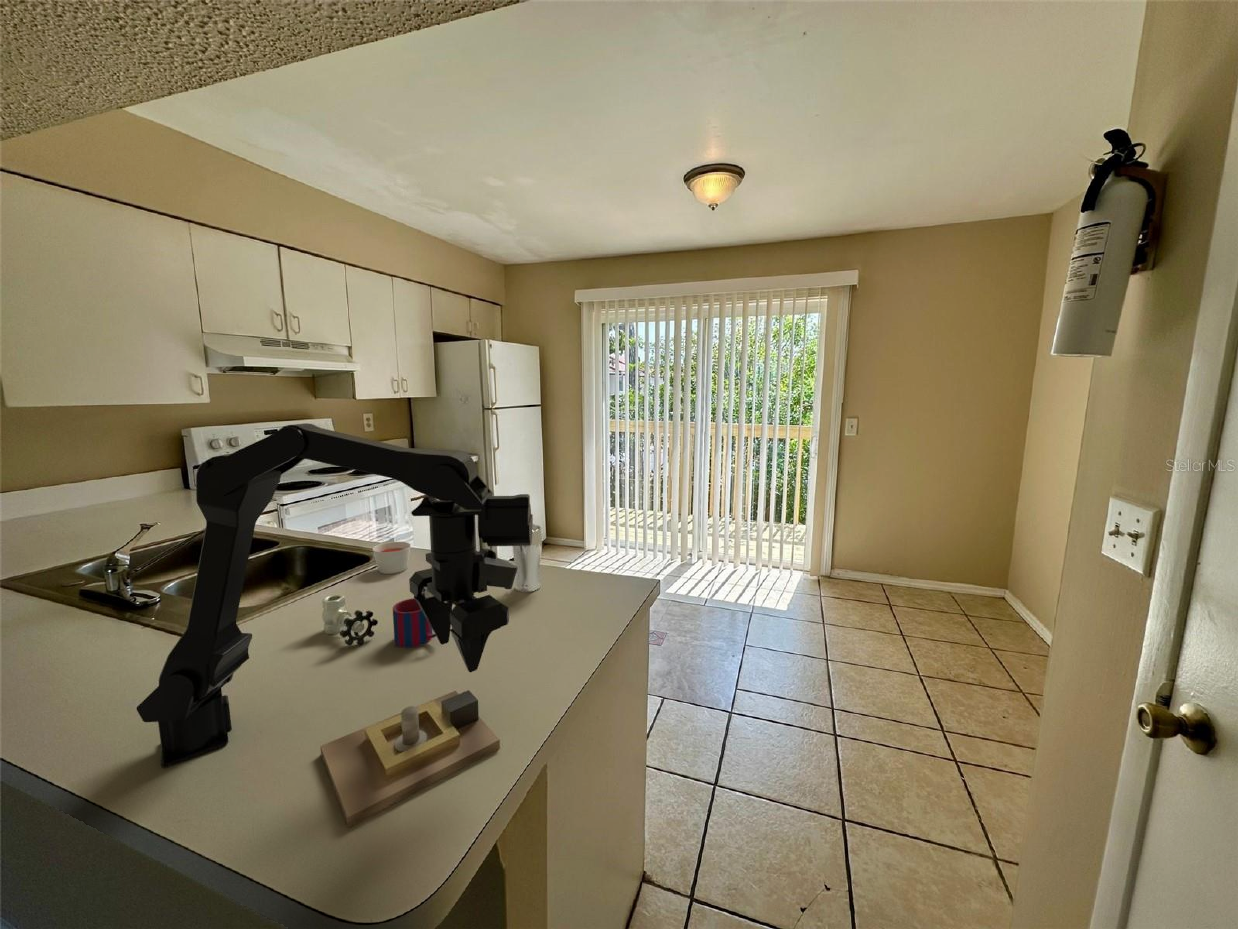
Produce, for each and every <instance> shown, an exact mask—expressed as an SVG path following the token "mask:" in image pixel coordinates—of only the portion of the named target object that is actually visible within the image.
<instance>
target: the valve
mask: <svg viewBox="0 0 1238 929" xmlns="http://www.w3.org/2000/svg"><path fill="white" fill-rule="evenodd" d="M321 604H322V609H323V610H322V613H321V619H322V621H323V631H324V632H325V633H326V634H328V635H333V634H339V636H340V637H342V638H348V639H345V640H344V644H345V645H347V646H348V647H349V646H352V645H354V642H355V641H356V642H355V644H357V645H358V646H362V645H364V643H365V638H366V637H368V638H372V637H374V636H375V631H373V630H372V628H373V627H375V626H377V625H378V623H379V621H378V620H377V619H376V618H372V617H373V616H374V612H373V611H371V610H366V611H365V613H366V614H365V615H364V613H363V611H361V610H359V609H357V610H355V611H354V613H353V615H354V616H355V617H353V616H352V613H351V612H350V611H347V607H346V606H345V605H346V598H345V596H344V595H342V594H331V595H328V596H326V597H324V598H323V599H322V601H321ZM364 621H366V623H367V627H366V630H365V624H364V623H363V622H364ZM363 631H364V632H363ZM352 632H353V634H352ZM359 633H362V634H359Z"/></svg>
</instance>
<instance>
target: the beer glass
mask: <svg viewBox="0 0 1238 929" xmlns="http://www.w3.org/2000/svg"><path fill="white" fill-rule="evenodd" d="M542 538H543V537H542V527H541V525H538V524H534V523H533V533H532V544H531V546H512V554H513V561H514V566H516V567H518V569H517V572H516V576H515V584H514V589H515V590H516V591H517V592H519V593H520V592H521V593H533V592H536V591H538V590H540V589H541V580H540V576H539V573H540V572H539V571H540V563H541V557H542V552H543V551H542V550H543V549H542V548H543V541H542V540H543V539H542ZM537 589H538V590H537ZM535 590H536V591H535ZM532 591H533V592H532Z"/></svg>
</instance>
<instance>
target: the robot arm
mask: <svg viewBox="0 0 1238 929" xmlns="http://www.w3.org/2000/svg"><path fill="white" fill-rule="evenodd" d="M305 460H310V461H313V462H318V463H322V464H327V465H332V466H335V467H341V468H345V469H349V470H353V471H358V472H363V473H368V474H371V475H377V476H380V477H385V478H389V479H393V480H395V481H398V482H401V483H403V484H404V485H406V486H407V487H409V488H410V489H412V490H413V491H415V492H418V493H421V494H423V495H425V496H424V497H423V498H422V500H421V502H420V503H419V504H418V505H417V507H416V508H414V509H413V510H411V512H410V513H411V516H413V517H428V518H429V520H428V522H429V541H430V542H429V544H430V552H428V553H425V562H427V564H430V566H431V567H430V568H427V569H422V570H418V571H415V572H414V573H413V574H412V576H410V578H409V579H408V580H409V592H410V593H411V594H412V595H413V598H414V599H415V600H416V602H417V603H418V605H419V607H420V609H421V610H422V612H423V614H424V615H425V617H426V619H427V621H428V622H429V624H430V626H431V628H432V632H433V634H435V635H436V637H435V638H437V640H438V642H439V644H441V645H446V644H448V643H449V641H450V636H452V638H453V640H454V642H455V645H456V647H457V649H458V651H459V654H460V656H461V658H462V661H463V664H464V665H465V667H466V670H467V671H468V672H469V673H473V672H475V671H476V672H477V671H478V668H479V666H480V662H481V660H482V656H483V653H484V649H485V647H486V645H487V644H486V643H487V641H488V638H489V636H490V635H491V633H492V632H493V631H496V630H498V629H500V628H502V627H505V626H508V624H509V623H510V613H509V612H510V608H509V607H508V606H506V605H505V604H504V603H503V602H501V601H500V600H498V599H496V598H495V597H493V596H492V595H491V594H488V595H484V596H480V597H476V596H475V593H478V594H480V593H484V592H487V591H488V587H493V588H494V587H496V588H504V589H505V590H512V588H513V585H514V583H515V580H516V577H517V573H516V572H517V569H518V567H516V566H515V564H513V563H511V562H509V561H507V560H505V559H501V558H500V557H497V552H496V551H494V550H492V549H491V548H490V547H513V546H531V544H532V533H533V524H534V522H533V521H534V518H533V517H534V516H533V515H534V514H532V507H531V496H530V495H529V494H528V493H527V494H526V493H524V494H523V493H522V494H517V495H516V494H515V495H494V493H493V491H492V490H491V489H490V488H489V486H488V485H487V484H486V483H485V481H484V480H483V479H482V478H481V477H480V476H479V474H478V468H477V464H476V462H475V460H474V459H473V457H472V456H471V455H470V454H468V453H467V452H465V451H462V450H457V449H447V448H446V449H444V448H414V447H413V448H410V447H404V446H400V445H396V444H391V443H387V442H382V441H379V440H375V439H369V438H365V437H360V436H357V435H352V434H349V433H344V432H339V431H334V430H332V429H331V430H330V429H327V428H322V427H319V426H318V425H315V424H314V423H306V422H305V423H295V424H288V425H285V426H282V427H281V428H279V429H278V430H277V431H275V432H273V433H271V434H270V435H268V436H266V437H264V438H261V439H259V440H258V441H255V442H253V443H251V444H248V445H247V446H245V447H243V448H240V449H238V450H236V451H234V452H232V453H227V454H221V455H216V456H212V457H210V458H208V459H206V460H205V461H202V462H201V463H200V465H199V466H198V468H197V470H196V475H195V501H196V504H197V506H198V508H199V509H200V512H201V513H202V515H203V517H204V519H205V523H206V524H205V529H204V530H205V531H204V535H203V539H202V540H203V542H202V545H201V551H200V555H199V562H198V568H197V573H196V576H195V583H194V589H193V594H192V599H191V604H190V608H189V615H188V621H187V625H186V628H185V631H184V632H183V634H182V635H181V636H180V638H179V639H178V641H177V642H176V643H175V645H174V646H173V648H172V649H171V651H170V652H169V654H168V655H167V657H166V660H165V662H164V664H163V667H162V669H161V672H160V675H159V678H158V686H157V687H156V688H154V690H153V691H151V693H150V694H148V696H146V697H145V699H143V701H141V702H140V703H139V704H138V705H137V706H136V712H137V713H138V715H139V717H140V718H141V720H142V722H143V723H158V724H157V725H158V732H159V733H158V734H159V741H160V746H161V748H160V749H161V754H160V756H161V757H160V766H161V768H166V767H169V766H172V765H174V764H177V763H180V762H184V761H185V760H189V759H191V758H194V757H197V756H199V755H201V754H205V753H207V752H210V751H213V750H215V749H219V748H221V747H223V746H226V745H227V744H229V735H228V733H230V732H231V731H232V729H233V728H232V720H231V712H230V711H231V709H230V702H229V696H228V695H226V694H225V695H223V691H222V688H223V687H224V686H225V685H227V684H228V683H230V682H231V681H232V680H233V676H234V673H235V672H237V671H238V670H239V669H240V668H241V667H242V665H243V664H244V663H245V662H247V661H248V660H249V659H250V655H249V646H250V644H251V641H252V639H253V634H252V633H251V632H250V633H249V632H242V630H241V629H240V628H239V625H238V624H237V619H238V614H239V608H240V602H241V597H242V594H243V589H244V588H243V587H244V582H245V578H246V573H247V568H248V564H249V558H250V552H251V547H252V543H253V539H254V538H253V537H254V532H255V527H256V523H257V521H258V519H259V518H260V517H261V515H262V514H263V513H264V511H265V509H266V508H267V507H268V506H269V504H270V502H271V501H272V500H273V497H274V495H275V493H276V490H277V488H278V486H279V483H280V480H281V477H282V475H283V474H285V473H287V472H289V471H290V470H293V469H294V468H295V467H297V466H298V465H300V464H301V463H302V462H303V461H305ZM476 516H477V527H476ZM476 528H477V530H476ZM477 534H478V535H477ZM477 536H478V538H479V540H482V541H481V542H482V543H483V544H486V545H487V547H489V548H487V547H486V548H484V547H482V548H480V550H479V551H478V550H477ZM453 605H454V607H453Z"/></svg>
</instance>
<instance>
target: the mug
mask: <svg viewBox="0 0 1238 929" xmlns="http://www.w3.org/2000/svg"><path fill="white" fill-rule="evenodd" d="M392 620H393V621H392V622H393V640H394V645H395V646H397V647H399V648H403V649H404V647H405V648H407V649H409V648H415V647H416V648H417V647H419V646H420V647H421V646H423V645H424V644H427V643H428V642H430V641H431V640H432V639H433V638H437V637H436V635H435V633H434V632H433V629H432V628H431V626H430V624H429V622H428V621H427V619H426V617H425V615H424V614H423V612H422V610H421V609H420V607H419V605H418V603H417V602H416V600H415V599H414V597H413V598H407V599H403V600H401V601H399V602H397V603H395V604H394V605H393V607H392Z"/></svg>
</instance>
